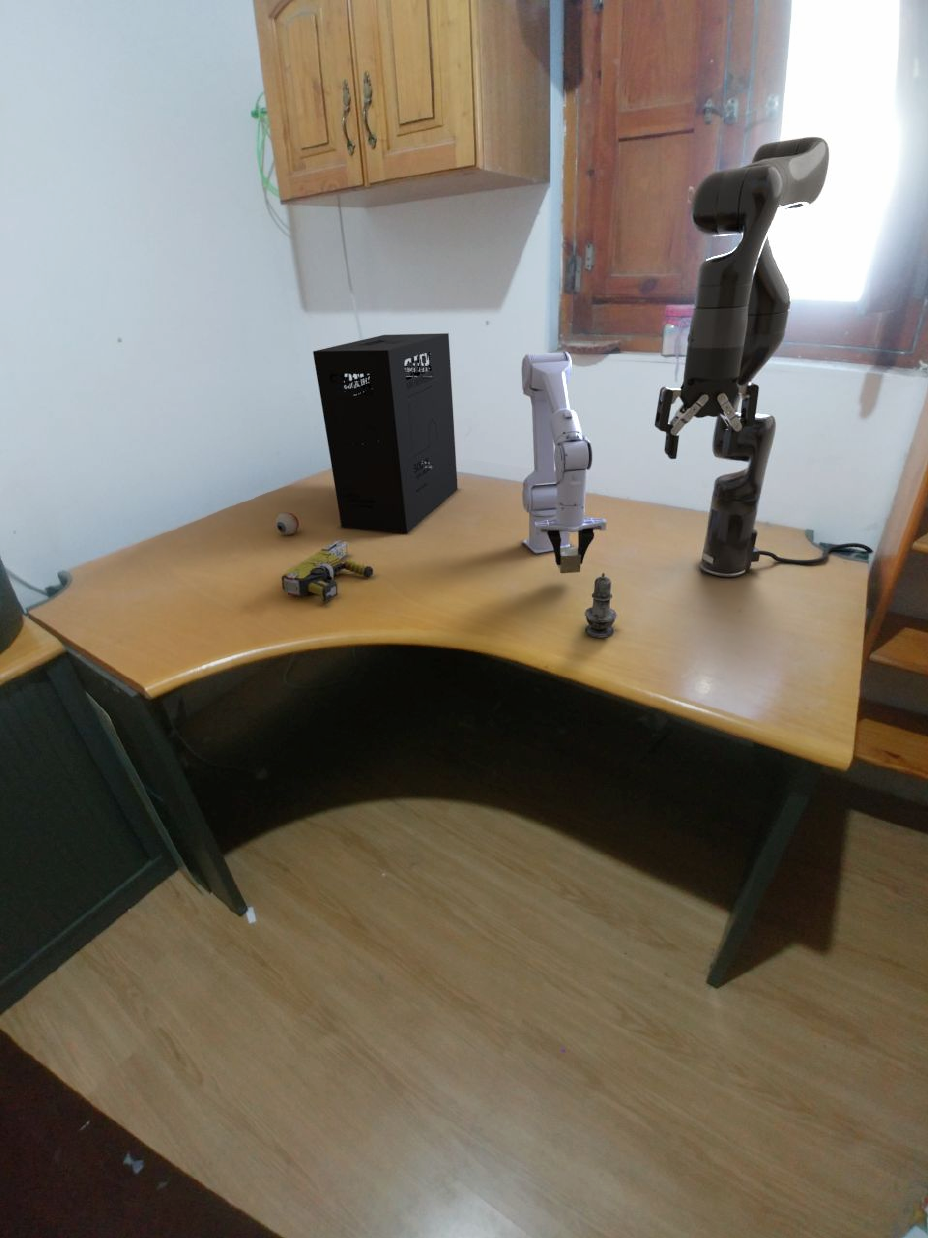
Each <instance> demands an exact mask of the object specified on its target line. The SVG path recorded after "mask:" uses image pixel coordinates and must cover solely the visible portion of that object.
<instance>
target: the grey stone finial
mask: <svg viewBox="0 0 928 1238" xmlns="http://www.w3.org/2000/svg"><path fill="white" fill-rule="evenodd" d="M611 587H612V580H611V579H610V578H609V577H607V576H606V573H605V572H603V573H601V576H598V577H596V578H595V580H594V587H593V593H591V598H592V606H590V607H589V608H587V609H585V611H584V613H583V614H584V617H585V621H586V622H587V625H586V626H585V628H584V629H585V630H584V631H585V633H586V634H587V635H589V636H590V637H593V638H598V639H600V638H602V639H603V638H608V637H610V636H612V635H613V634H614V632H615V630H614V628H613V627H612V625H613V624H614V623H615V620H616V619H617V616H618V614H617V612H616V611H615V610H614V609H613V608H612V607H611V604H610V603H611V599H613V595H612V594H611V589H612V588H611Z"/></svg>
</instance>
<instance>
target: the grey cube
mask: <svg viewBox="0 0 928 1238" xmlns="http://www.w3.org/2000/svg"><path fill="white" fill-rule="evenodd" d="M581 565H582V564H581V554H580V552H579V550H578V546H571V547H565V548H560V565H557V567H558V571H559V573H560V574H573V573H574V574H576V573H581Z"/></svg>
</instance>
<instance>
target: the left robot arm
mask: <svg viewBox="0 0 928 1238" xmlns="http://www.w3.org/2000/svg"><path fill="white" fill-rule="evenodd" d="M572 362H573V361H572V357H571V355H570V353H569V352H568V351H563V352H553V353H551V352H550V353H538V354H536V353H535V354H525V355H524V356H523V358H522V361H521V388H522V393H523V395H524V396H527V397H529V398H530V403H531V417H532V418H531V419H532V420H531V421H532V445H533V471H531V473H529V474H528V475H527V476H526V477H525V478H524V479H523V482H522V492H521V497H522V498H521V500H522V506H523V509H524V511H525V512H526V513H529V514H528V539H524V540H523V541H522V543H523V544H524V545H525V546H526V547H527V548H528V549H530V550H531V551H532V552H533V553H534V554H537V555H538V554H542V553H548V552H552V551H553V553H554V560H555V564H556V566H558V565H560V548H565V547H572V546H571V544H570V535H571V534H570V533H577V535H578V537H577V539H578V541H577V543H578V544H577V548H578V550H579V552H580V554H581V564H580V565H582V564H583V562H584V558H585V555H586V554H587V553H586V552H587V550H588V548H589V546H590V545H591V543H592V541H593V540H594V538H595V532H594V531H596V530H597V531H598V530H599V531H601V532H602V531H606V530H607V520H606V519H605V518H598V517H597V518H594V517H585V515H586V495H587V478H588V476H587V475H588V472H587V471H589V470H591V468H592V465H593V448H592V443H591V441H590V440H589V439H588V438H587V436H586V435H583V431H582V427H581V424H580V420H579V417H578V413H577V412H576V411H575V410H573V409H571V407H570V401H569V394H568V388H567V386H569V383H570V380H571V377H572V374H573V373H572V372H573V363H572Z"/></svg>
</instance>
